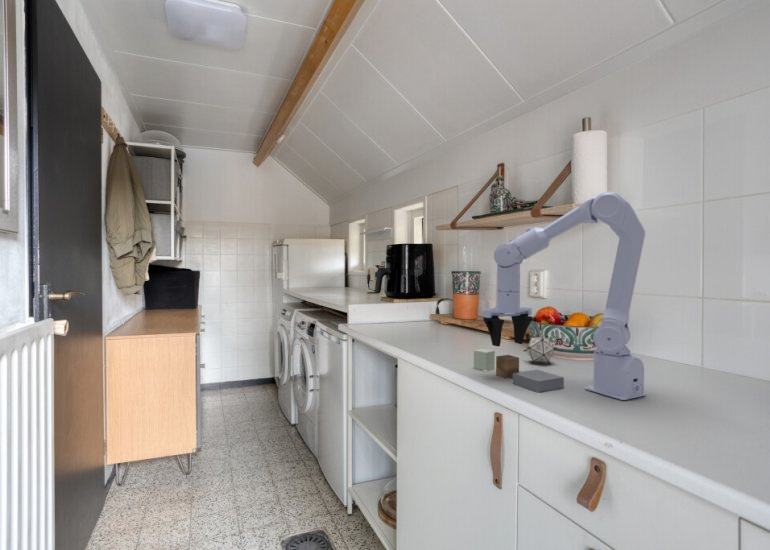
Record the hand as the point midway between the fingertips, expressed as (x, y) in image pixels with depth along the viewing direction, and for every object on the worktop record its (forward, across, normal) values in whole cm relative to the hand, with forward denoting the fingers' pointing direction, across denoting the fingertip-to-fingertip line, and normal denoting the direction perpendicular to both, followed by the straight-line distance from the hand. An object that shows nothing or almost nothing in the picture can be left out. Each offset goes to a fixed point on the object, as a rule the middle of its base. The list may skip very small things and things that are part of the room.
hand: (507, 344), depth 109 cm
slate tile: (+8, 0, +10) cm, 13 cm away
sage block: (+8, 0, -9) cm, 12 cm away
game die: (+8, -19, -7) cm, 22 cm away
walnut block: (+8, 0, 0) cm, 8 cm away
